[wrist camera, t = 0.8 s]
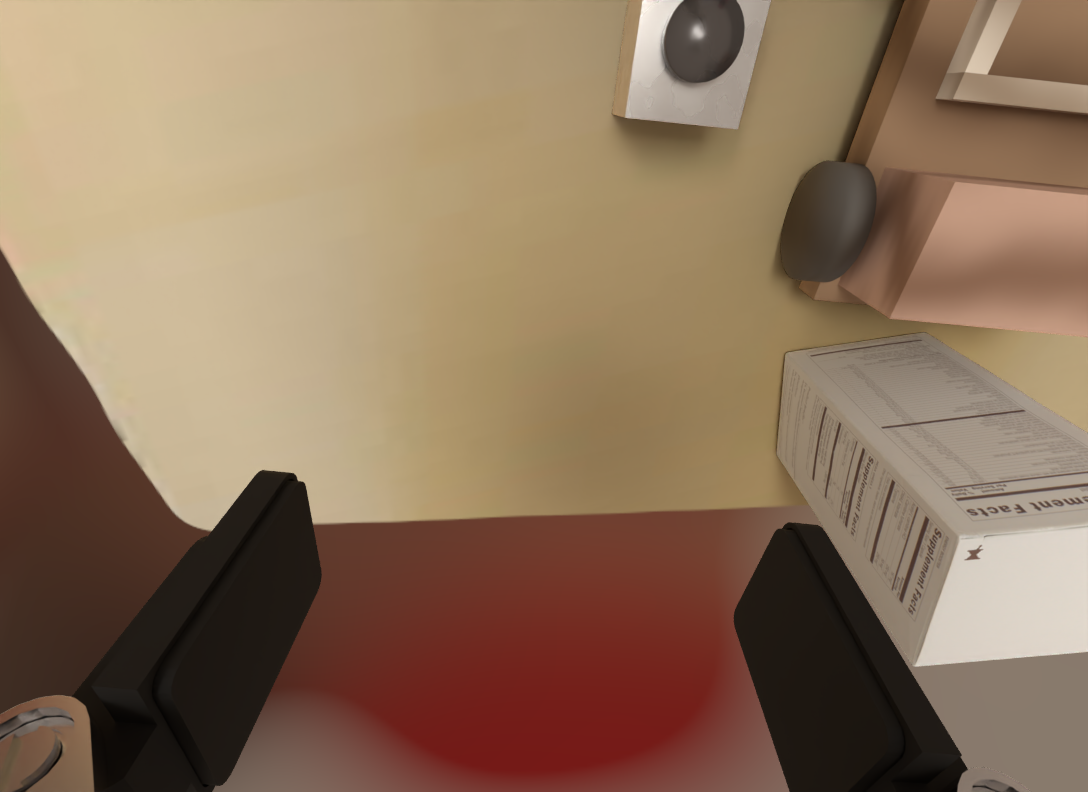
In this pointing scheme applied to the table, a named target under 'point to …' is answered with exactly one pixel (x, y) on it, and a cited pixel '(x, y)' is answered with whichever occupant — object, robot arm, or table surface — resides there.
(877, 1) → the table surface
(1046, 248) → the chassis
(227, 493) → the table surface
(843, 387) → the supplement box
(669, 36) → the block with dome knob
